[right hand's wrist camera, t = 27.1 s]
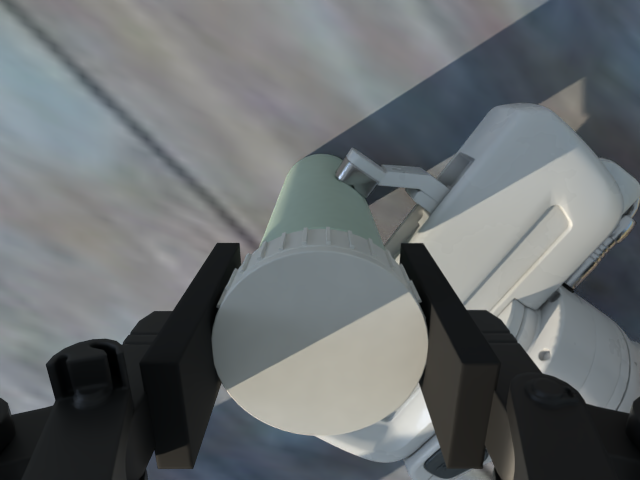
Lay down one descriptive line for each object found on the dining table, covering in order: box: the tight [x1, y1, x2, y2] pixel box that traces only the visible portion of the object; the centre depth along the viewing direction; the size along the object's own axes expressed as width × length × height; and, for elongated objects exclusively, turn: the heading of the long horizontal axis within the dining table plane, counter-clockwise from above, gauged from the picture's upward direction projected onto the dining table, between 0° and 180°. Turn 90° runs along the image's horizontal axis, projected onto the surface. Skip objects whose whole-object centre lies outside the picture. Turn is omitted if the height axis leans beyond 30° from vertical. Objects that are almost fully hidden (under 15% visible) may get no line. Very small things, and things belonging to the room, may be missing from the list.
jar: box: [259, 154, 385, 251], centre depth 20 cm, size 5×5×16 cm
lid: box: [212, 227, 429, 436], centre depth 11 cm, size 6×6×2 cm
